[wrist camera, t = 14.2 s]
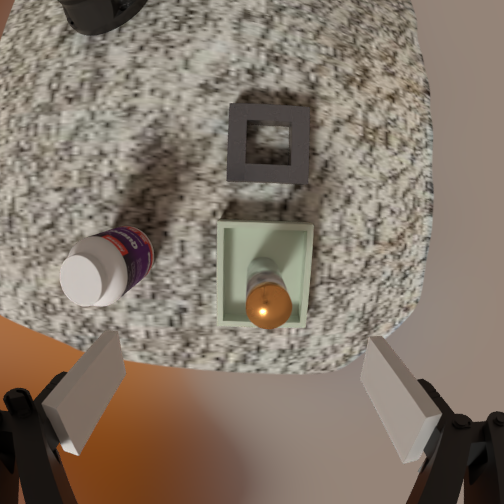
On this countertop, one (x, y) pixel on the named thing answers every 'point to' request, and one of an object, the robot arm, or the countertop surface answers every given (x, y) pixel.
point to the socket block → (268, 116)
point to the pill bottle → (106, 266)
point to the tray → (254, 246)
